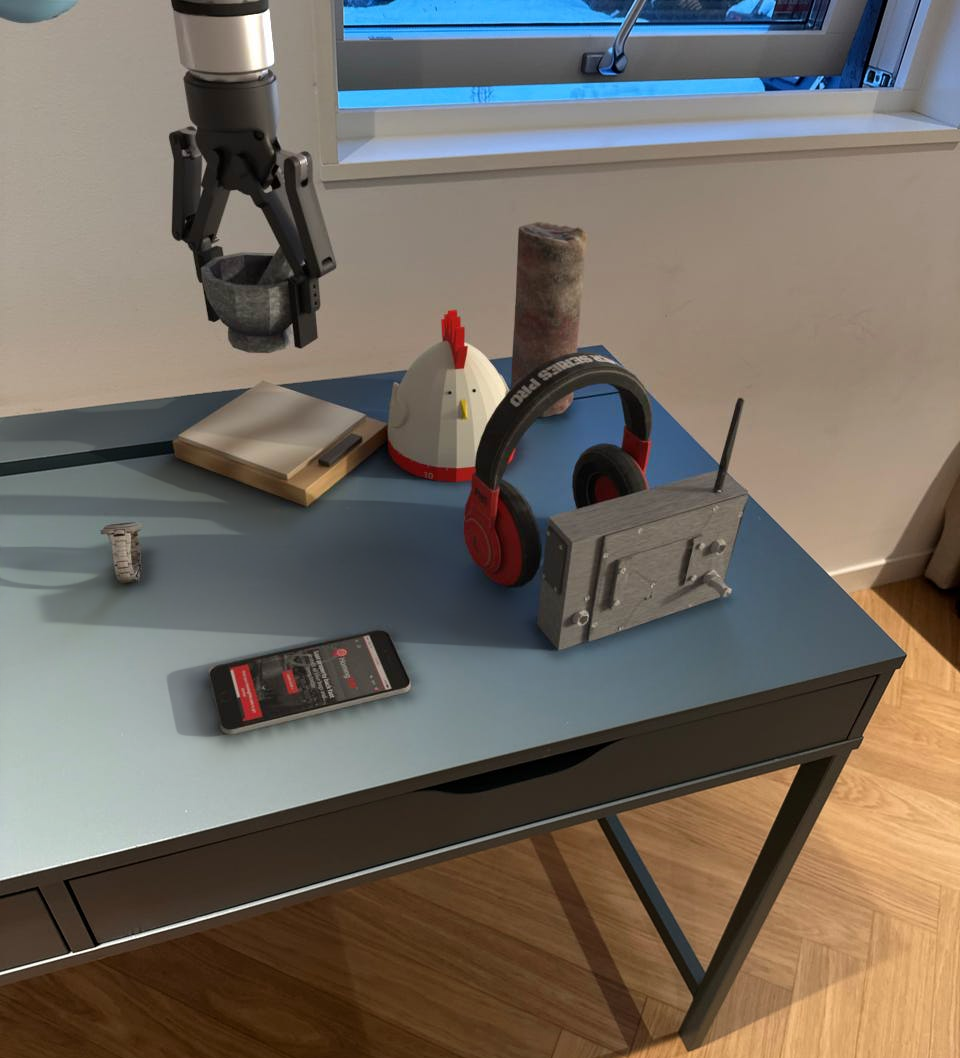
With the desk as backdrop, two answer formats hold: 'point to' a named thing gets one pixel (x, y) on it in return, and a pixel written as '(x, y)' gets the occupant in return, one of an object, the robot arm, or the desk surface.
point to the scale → (282, 442)
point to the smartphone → (307, 681)
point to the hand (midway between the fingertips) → (262, 329)
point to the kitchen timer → (444, 407)
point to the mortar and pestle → (251, 299)
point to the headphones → (599, 475)
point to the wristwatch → (125, 550)
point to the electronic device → (640, 554)
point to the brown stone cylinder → (547, 299)
